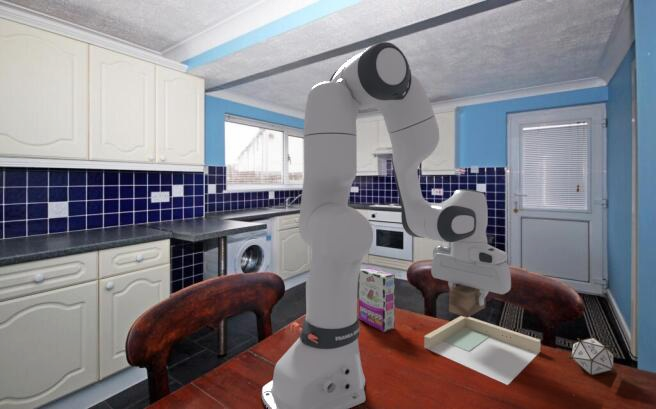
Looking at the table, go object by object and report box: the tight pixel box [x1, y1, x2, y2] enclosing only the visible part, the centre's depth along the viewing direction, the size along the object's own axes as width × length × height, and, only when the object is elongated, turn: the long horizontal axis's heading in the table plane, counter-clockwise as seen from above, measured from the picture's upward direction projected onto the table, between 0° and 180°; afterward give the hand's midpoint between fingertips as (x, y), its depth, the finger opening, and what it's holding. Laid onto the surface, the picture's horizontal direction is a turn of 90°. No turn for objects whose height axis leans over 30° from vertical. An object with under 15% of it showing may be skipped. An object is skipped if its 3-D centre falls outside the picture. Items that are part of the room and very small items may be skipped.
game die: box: [567, 334, 619, 376], centre depth 71 cm, size 9×8×10 cm
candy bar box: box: [358, 267, 396, 333], centre depth 96 cm, size 11×5×16 cm, turn 36°
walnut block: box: [448, 284, 486, 318], centre depth 85 cm, size 5×10×6 cm, turn 130°
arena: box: [423, 315, 541, 386], centre depth 80 cm, size 20×20×4 cm
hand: (467, 301), depth 85 cm, fingers closed on walnut block, 5 cm apart
